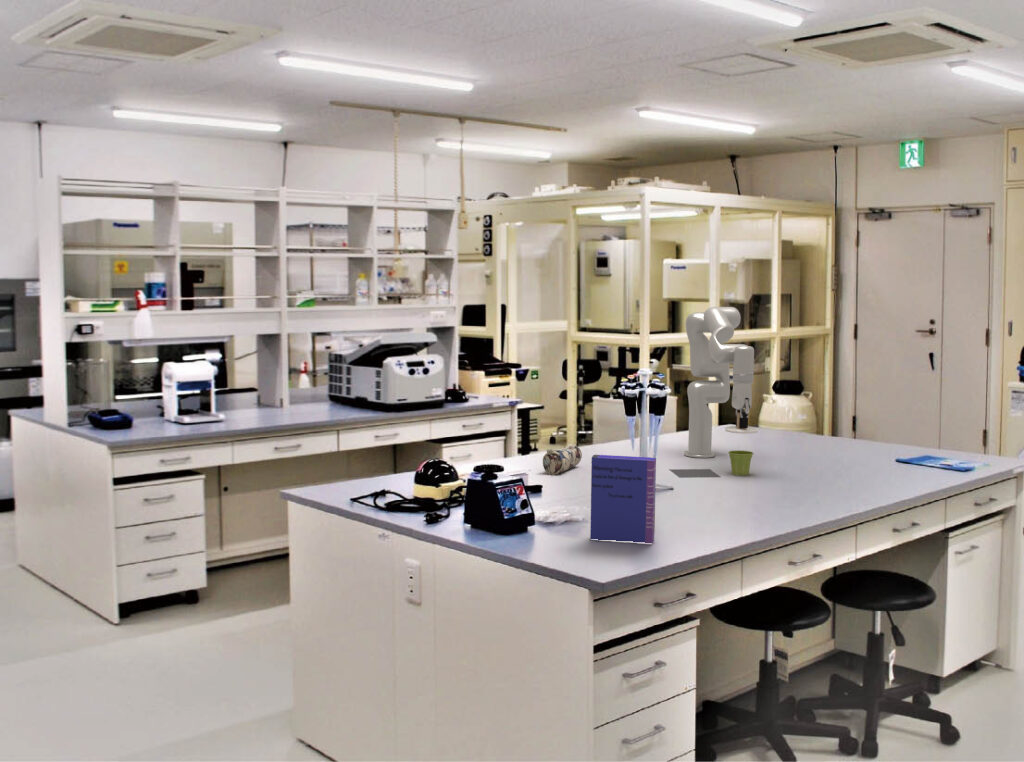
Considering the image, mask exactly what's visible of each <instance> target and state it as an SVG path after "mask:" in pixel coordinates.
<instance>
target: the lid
mask: <svg viewBox="0 0 1024 762" xmlns="http://www.w3.org/2000/svg"><path fill="white" fill-rule="evenodd" d="M739 418H741V417H740V412H737V427H736V425H735V426H732V425H731V426H726V427H725V430H724V431H725V432H726V433H730V434H731V433H732V434H744V435H745V434H756V433H758V432H759V428H757V427H753V426H748V428H739Z"/></svg>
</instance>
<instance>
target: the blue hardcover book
mask: <svg viewBox="0 0 1024 762" xmlns="http://www.w3.org/2000/svg"><path fill="white" fill-rule="evenodd" d="M590 474H591V479H590V533H589V535H590V537H589V540H590V539H598V540H616V541H633V542H645V543H653V541H654V542H655V532H656V531H655V527H656V526H655V521H656V520H655V519H656V517H655V516H656V487H657V486H656V484H657V483H656V482H657V481H656V478H657V477H656V476H657V475H656V474H657V458H656V457H648V456H630V455H629V456H627V455H626V456H625V455H610V454H608V455H606V454H605V455H604V454H593V455H592V457H591V473H590ZM653 544H654V543H653Z"/></svg>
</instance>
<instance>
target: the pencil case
mask: <svg viewBox="0 0 1024 762" xmlns="http://www.w3.org/2000/svg"><path fill="white" fill-rule="evenodd" d="M582 456H583V453H582V450H581V449H580V447H579V446H577V445H575V443H568V444H566V445H565V446H564V447H562V448H560V449H553V448H551V449H550V448H549V449H546V453H545V454H544V455H543V457H542V467H543V469H544V471H545V472H546V473H547V474H548V475H552V476H556V475H559V474H562V473H563V472H565V471H568V470H569V469H571V468H573V467H576V466H578V465H579V464H580V462H581V460H582Z"/></svg>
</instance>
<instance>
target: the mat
mask: <svg viewBox="0 0 1024 762" xmlns="http://www.w3.org/2000/svg"><path fill="white" fill-rule="evenodd" d="M668 471H670V472H672V473H673V474H674V475H675V476H677V477H678V478H680V479H681V478H691V479H692V478H693V479H694V478H695V479H696V478H722V476H720V475H719V474H717V473H716V472H715V471H713V470H711V468H688V469H687V468H686V469H685V468H684V469H683V468H681V469H677V468H676V469H674V468H673V469H672V468H671V469H668Z"/></svg>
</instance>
